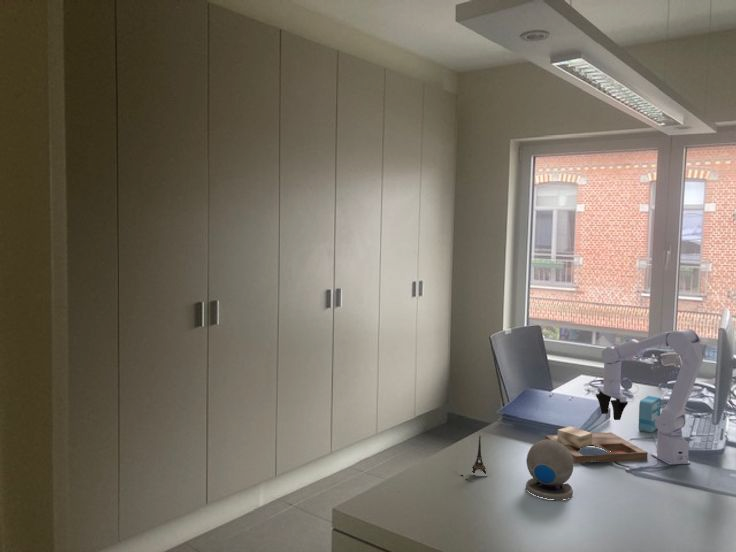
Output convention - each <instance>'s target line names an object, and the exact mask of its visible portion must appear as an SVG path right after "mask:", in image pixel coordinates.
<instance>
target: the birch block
mask: <svg viewBox="0 0 736 552" xmlns="http://www.w3.org/2000/svg"><path fill="white" fill-rule="evenodd" d="M592 433H593V432H590V431H587V430H583V429H580V428H577V427H572V426H570V425H569V426H566V427H563V428H559V429H557V435H558V438H557V441H559V442H562V443H565V444H568V445H571V446H574V447H577V448H583V447H586V446H589V445H592Z"/></svg>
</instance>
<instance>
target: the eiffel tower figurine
mask: <svg viewBox="0 0 736 552" xmlns="http://www.w3.org/2000/svg"><path fill="white" fill-rule="evenodd" d="M481 439H482V436H481V435H478V447H477V455H476V460H475V461H474V464H473V465H472V466H473V467H472V468H473V471H472V472H473V473H475V471H476V470H482V471H483V472H484V473H485V474H486V471H485V469H486V470H487V467H485V466H484V463H485V462H483V458H482V457H483V456H482V449H481V447H482V445H481V442H482V441H481Z"/></svg>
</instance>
